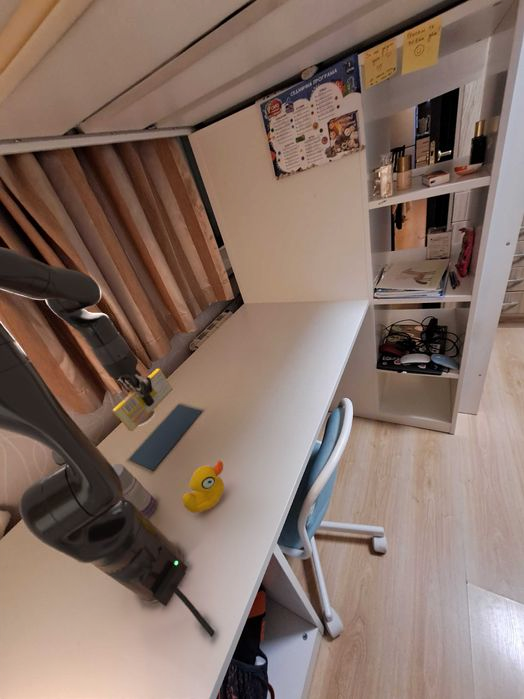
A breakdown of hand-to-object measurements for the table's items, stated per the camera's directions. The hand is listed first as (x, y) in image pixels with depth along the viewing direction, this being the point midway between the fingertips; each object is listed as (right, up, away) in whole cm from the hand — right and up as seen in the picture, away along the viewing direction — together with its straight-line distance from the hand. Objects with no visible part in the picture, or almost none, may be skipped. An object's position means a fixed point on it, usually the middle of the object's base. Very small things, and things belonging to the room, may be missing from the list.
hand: (148, 403), depth 80 cm
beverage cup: (-16, -22, +2) cm, 27 cm away
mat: (+3, -11, +8) cm, 14 cm away
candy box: (+1, -2, +2) cm, 3 cm away
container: (+4, -24, -10) cm, 26 cm away
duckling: (+20, -20, -13) cm, 32 cm away
